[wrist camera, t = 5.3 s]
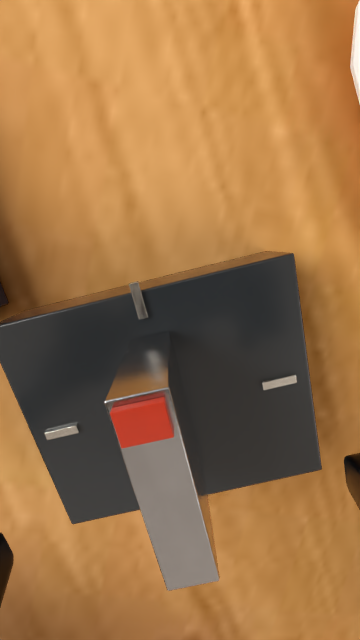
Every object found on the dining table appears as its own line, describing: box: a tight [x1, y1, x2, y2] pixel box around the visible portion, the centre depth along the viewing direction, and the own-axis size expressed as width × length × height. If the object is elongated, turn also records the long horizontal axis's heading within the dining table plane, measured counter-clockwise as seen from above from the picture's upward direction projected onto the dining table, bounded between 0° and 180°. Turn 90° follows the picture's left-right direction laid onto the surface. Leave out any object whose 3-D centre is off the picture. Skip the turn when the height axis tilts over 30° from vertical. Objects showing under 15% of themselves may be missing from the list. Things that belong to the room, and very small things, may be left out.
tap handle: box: [104, 331, 220, 591], centre depth 10 cm, size 6×2×5 cm, turn 13°
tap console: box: [0, 251, 322, 524], centre depth 13 cm, size 12×11×3 cm
